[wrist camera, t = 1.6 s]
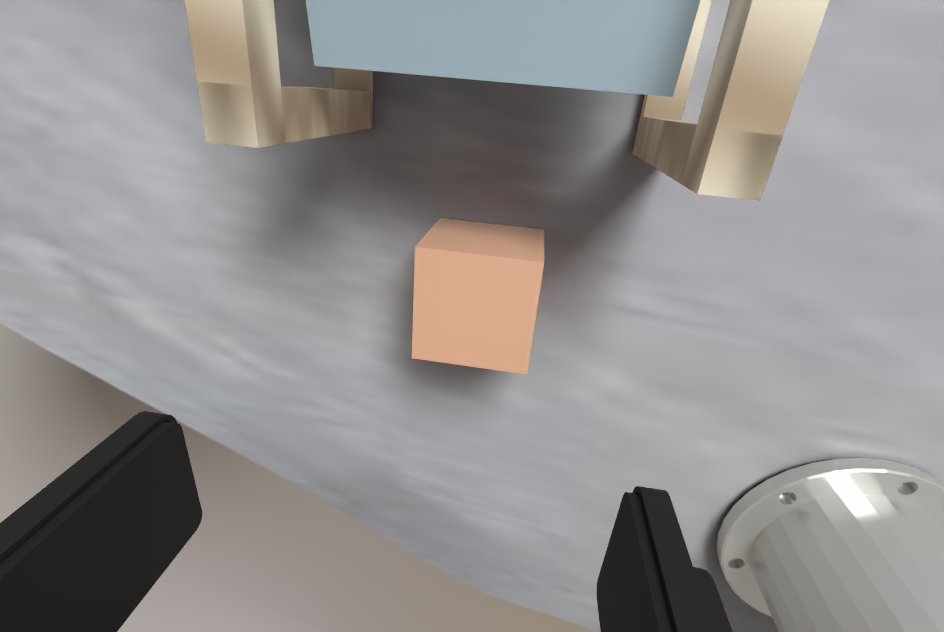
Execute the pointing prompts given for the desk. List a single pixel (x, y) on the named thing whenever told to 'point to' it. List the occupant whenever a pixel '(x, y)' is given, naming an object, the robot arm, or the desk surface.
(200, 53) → the frame
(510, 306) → the terracotta block
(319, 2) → the trapdoor plate
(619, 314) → the desk surface
